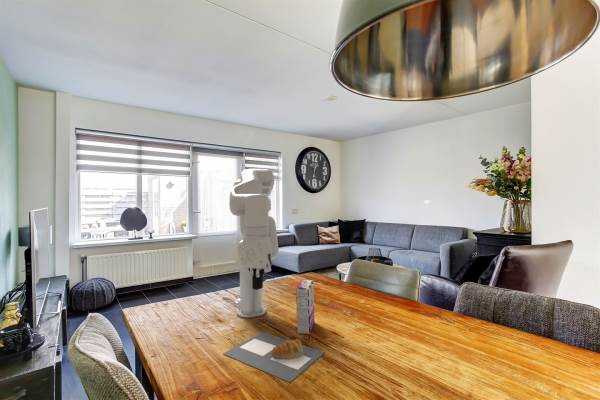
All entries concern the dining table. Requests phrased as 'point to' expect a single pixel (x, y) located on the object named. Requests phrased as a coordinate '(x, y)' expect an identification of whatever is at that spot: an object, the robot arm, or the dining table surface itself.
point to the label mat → (260, 356)
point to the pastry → (288, 350)
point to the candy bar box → (305, 306)
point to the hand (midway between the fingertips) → (257, 288)
